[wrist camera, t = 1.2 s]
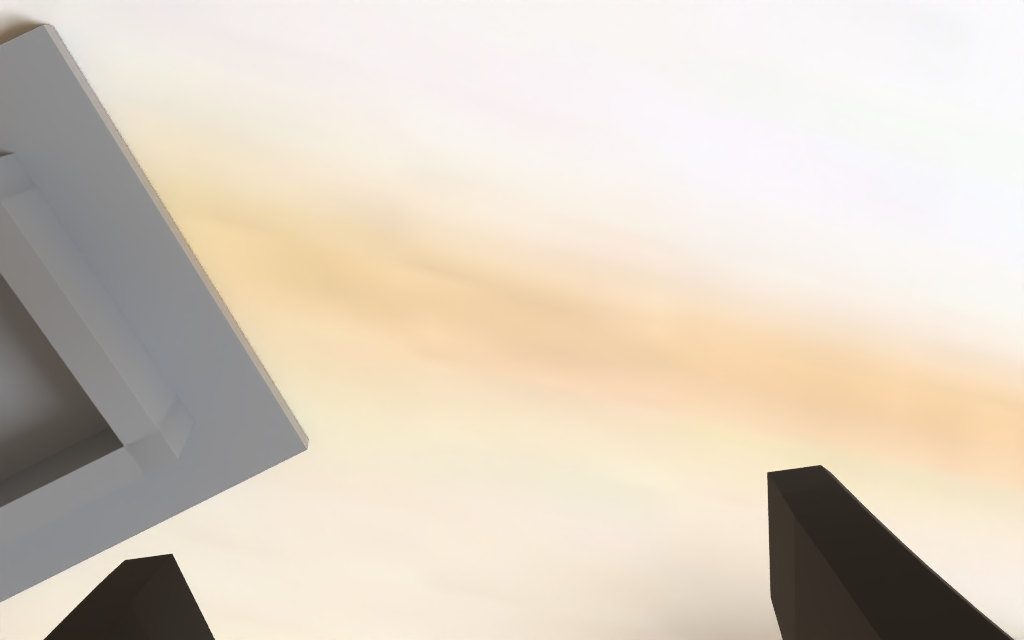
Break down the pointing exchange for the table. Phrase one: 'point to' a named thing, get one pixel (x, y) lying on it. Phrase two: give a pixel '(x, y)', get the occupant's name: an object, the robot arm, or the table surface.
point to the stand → (106, 338)
